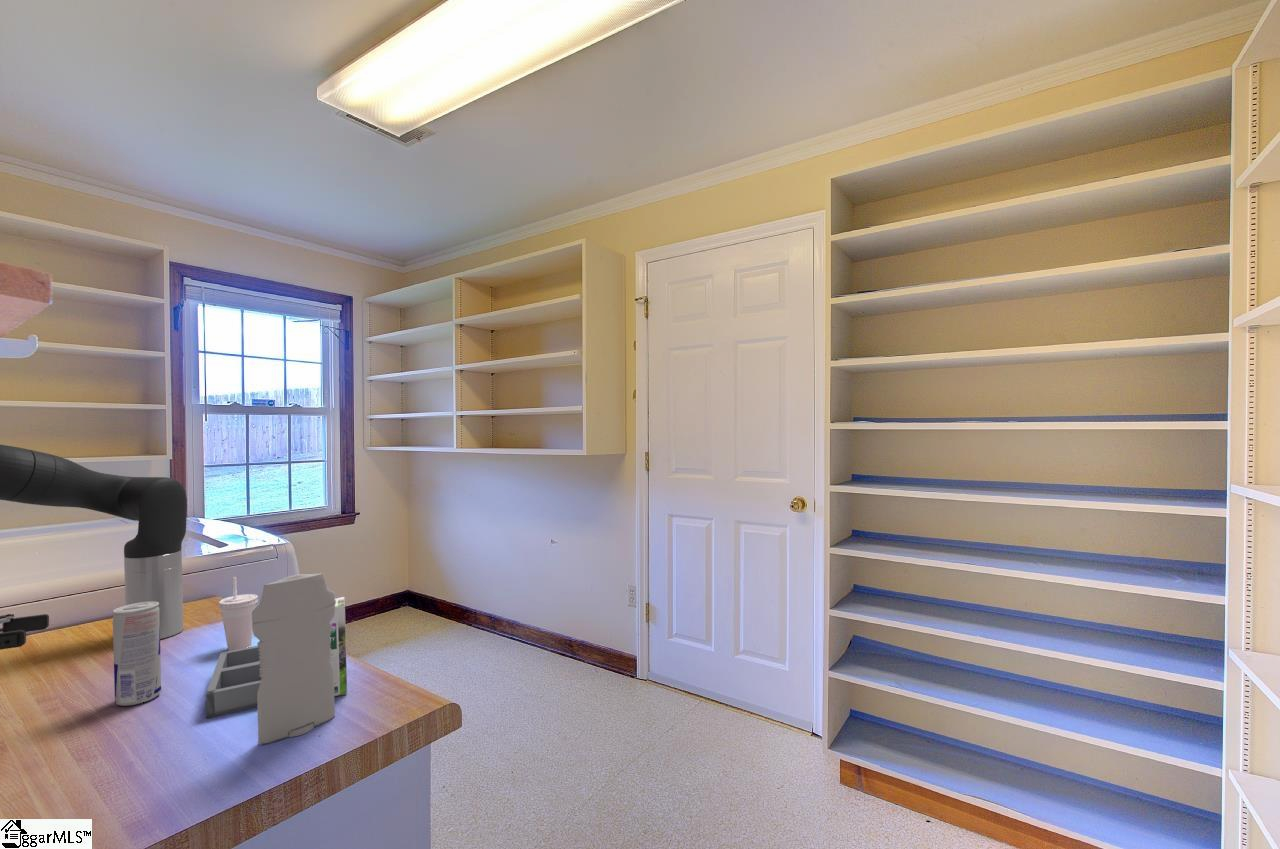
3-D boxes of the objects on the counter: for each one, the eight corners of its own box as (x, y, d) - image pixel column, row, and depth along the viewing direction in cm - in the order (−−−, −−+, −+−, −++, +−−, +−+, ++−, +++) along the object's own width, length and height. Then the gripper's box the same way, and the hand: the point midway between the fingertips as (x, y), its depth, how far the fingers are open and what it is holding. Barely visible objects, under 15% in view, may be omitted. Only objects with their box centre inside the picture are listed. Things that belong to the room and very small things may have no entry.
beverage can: (170, 691, 94) (168, 600, 94) (137, 708, 88) (135, 611, 88) (139, 690, 94) (137, 600, 94) (104, 707, 89) (102, 611, 89)
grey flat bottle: (332, 710, 86) (328, 565, 86) (343, 718, 84) (340, 569, 84) (250, 740, 78) (246, 580, 78) (259, 751, 76) (256, 586, 76)
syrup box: (305, 703, 89) (303, 610, 89) (308, 688, 94) (305, 600, 94) (347, 695, 91) (345, 604, 91) (346, 680, 96) (344, 594, 96)
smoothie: (216, 648, 112) (214, 577, 112) (254, 639, 117) (252, 570, 116) (223, 657, 107) (222, 583, 107) (263, 647, 112) (261, 576, 112)
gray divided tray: (221, 672, 101) (220, 652, 101) (284, 660, 105) (284, 640, 105) (206, 718, 85) (205, 694, 85) (281, 701, 90) (281, 678, 90)
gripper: (-168, 640, 71) (17, 616, 79) (-99, 610, 83) (55, 592, 91) (-169, 700, 71) (17, 670, 79) (-100, 662, 83) (55, 639, 91)
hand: (37, 629), depth 85 cm, fingers open, 8 cm apart
